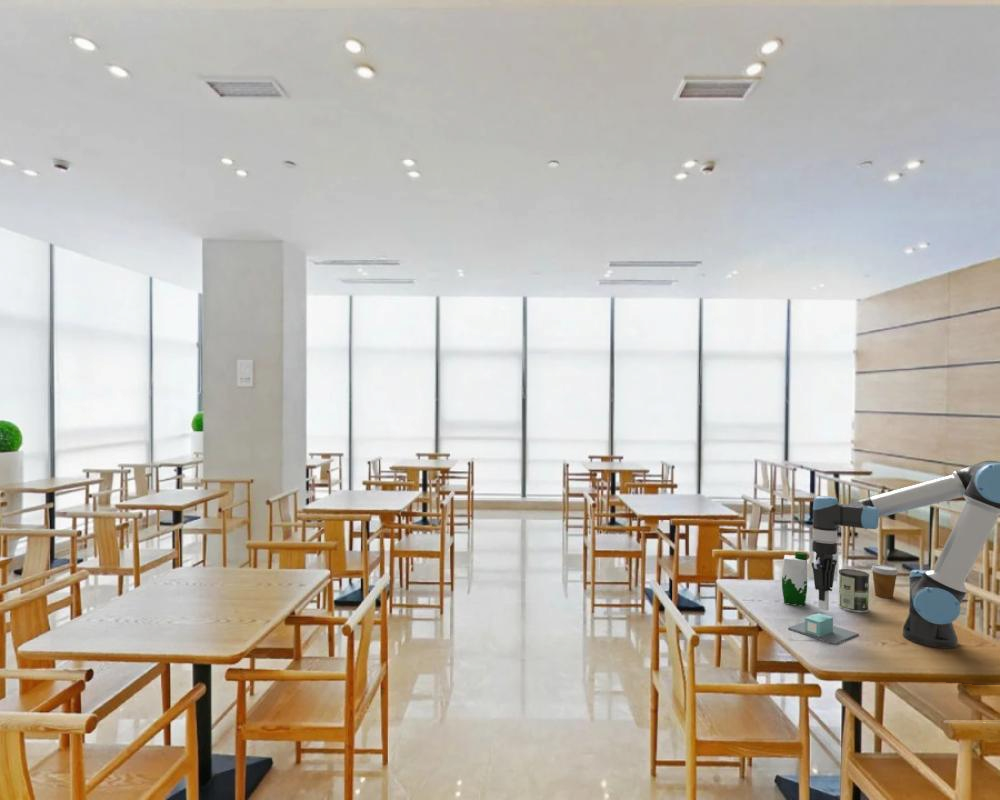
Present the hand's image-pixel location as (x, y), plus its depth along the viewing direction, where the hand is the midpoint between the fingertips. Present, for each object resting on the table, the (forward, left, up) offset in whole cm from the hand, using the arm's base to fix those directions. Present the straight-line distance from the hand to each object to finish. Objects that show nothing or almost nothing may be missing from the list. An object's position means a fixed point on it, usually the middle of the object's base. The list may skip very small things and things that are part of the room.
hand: (823, 609), depth 207 cm
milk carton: (+23, -23, -8) cm, 34 cm away
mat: (0, 0, -8) cm, 8 cm away
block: (0, -2, -5) cm, 5 cm away
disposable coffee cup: (+8, -66, -8) cm, 67 cm away
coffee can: (+7, -37, -8) cm, 39 cm away
